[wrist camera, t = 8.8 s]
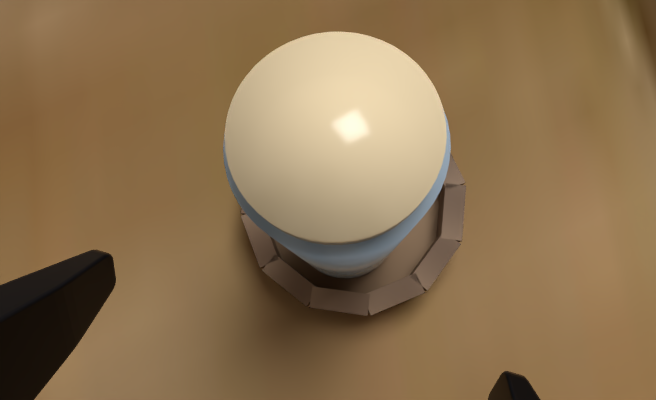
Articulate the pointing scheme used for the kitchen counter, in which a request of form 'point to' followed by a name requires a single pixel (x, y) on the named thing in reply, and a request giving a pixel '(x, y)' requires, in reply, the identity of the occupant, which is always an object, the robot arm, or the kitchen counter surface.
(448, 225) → the walnut tray
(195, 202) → the kitchen counter surface
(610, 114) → the kitchen counter surface
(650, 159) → the kitchen counter surface
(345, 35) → the bead jar
